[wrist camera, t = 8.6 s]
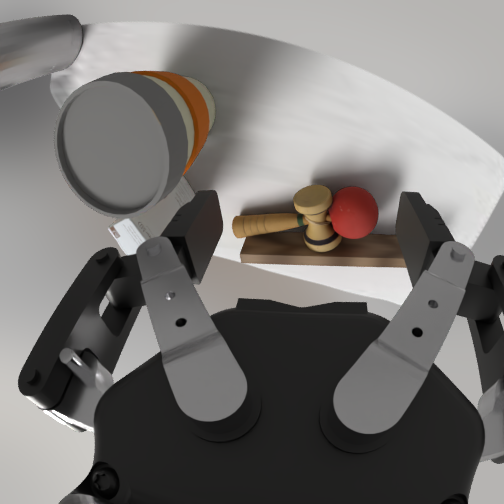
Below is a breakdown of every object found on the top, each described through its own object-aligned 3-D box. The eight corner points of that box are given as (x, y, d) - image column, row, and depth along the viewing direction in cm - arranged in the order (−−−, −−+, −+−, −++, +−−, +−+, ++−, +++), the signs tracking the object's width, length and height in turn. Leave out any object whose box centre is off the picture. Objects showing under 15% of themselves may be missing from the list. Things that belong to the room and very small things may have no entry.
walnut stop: (249, 239, 41) (241, 262, 37) (248, 231, 40) (239, 254, 36) (418, 244, 35) (427, 267, 31) (420, 235, 34) (430, 259, 30)
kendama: (255, 242, 43) (381, 231, 34) (237, 264, 38) (381, 256, 29) (240, 192, 39) (373, 172, 31) (218, 209, 34) (373, 186, 26)
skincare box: (202, 204, 38) (164, 261, 29) (178, 215, 40) (138, 271, 31) (178, 166, 36) (129, 215, 26) (154, 180, 38) (105, 229, 28)
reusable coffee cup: (220, 168, 35) (167, 238, 23) (134, 147, 35) (59, 202, 23) (241, 71, 27) (184, 84, 15) (142, 58, 27) (50, 77, 15)
